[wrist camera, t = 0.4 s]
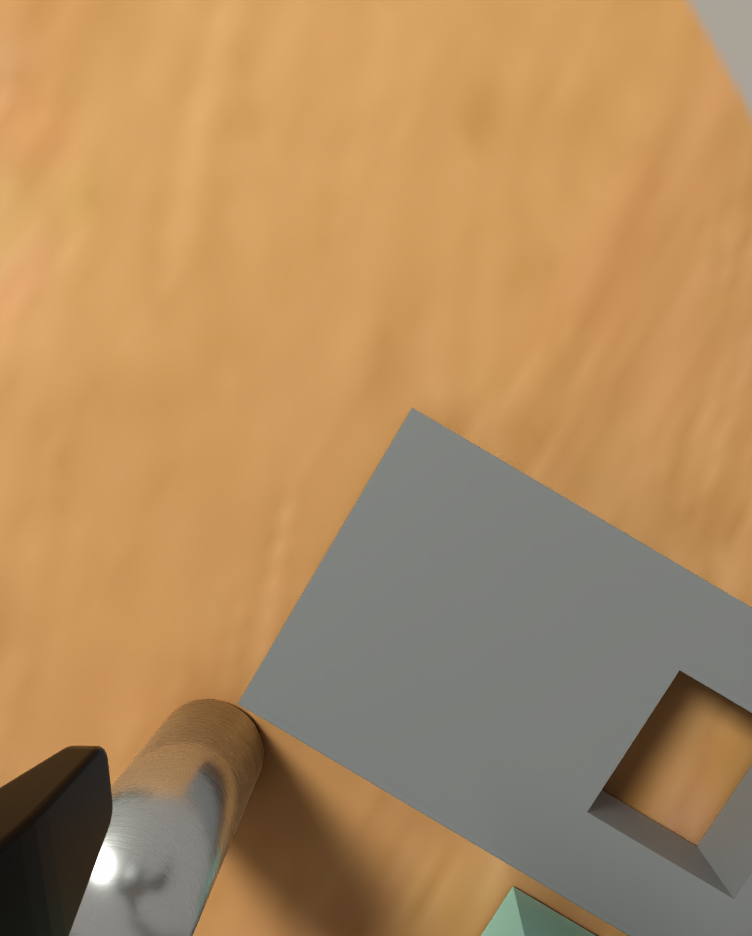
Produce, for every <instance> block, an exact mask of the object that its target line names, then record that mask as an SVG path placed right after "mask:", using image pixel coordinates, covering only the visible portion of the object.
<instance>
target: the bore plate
mask: <svg viewBox="0 0 752 936" xmlns="http://www.w3.org/2000/svg"><path fill="white" fill-rule="evenodd" d="M679 670H680V671H682V672H683V673H685V674H687V675H688V676H690V677H692V678H694V679H695V680H697V681H699V682H700V683H702V684H704V685H705V686H707V687H709V688H710V689H712V690H714V691H716V692H717V693H719V694H721V695H722V696H724V697H726V698H727V699H729V700H731V701H733V702H734V703H736V704H738V705H739V706H741V707H743V708H744V709H746V710H748V711H749V712H751V713H752V607H750V606H748V605H746V604H745V603H743V602H741V601H740V600H738V599H736V598H735V597H733V596H731V595H729V594H728V593H726V592H724V591H723V590H721V589H719V588H718V587H716V586H714V585H712V584H711V583H709V582H707V581H706V580H704V579H702V578H701V577H699V576H697V575H695V574H694V573H692V572H690V571H689V570H687V569H685V568H684V567H682V566H680V565H679V564H677V563H675V562H673V561H672V560H670V559H668V558H667V557H665V556H663V555H662V554H660V553H658V552H656V551H655V550H653V549H651V548H650V547H648V546H646V545H645V544H643V543H641V542H639V541H638V540H636V539H634V538H633V537H631V536H629V535H628V534H626V533H624V532H622V531H621V530H619V529H617V528H616V527H614V526H612V525H611V524H609V523H607V522H605V521H604V520H602V519H600V518H599V517H597V516H595V515H594V514H592V513H590V512H588V511H587V510H585V509H583V508H582V507H580V506H578V505H577V504H575V503H573V502H571V501H570V500H568V499H566V498H565V497H563V496H561V495H560V494H558V493H556V492H554V491H553V490H551V489H549V488H548V487H546V486H544V485H543V484H541V483H539V482H537V481H536V480H534V479H532V478H531V477H529V476H527V475H526V474H524V473H522V472H521V471H519V470H517V469H515V468H514V467H512V466H510V465H509V464H507V463H505V462H504V461H502V460H500V459H498V458H497V457H495V456H493V455H492V454H490V453H488V452H487V451H485V450H483V449H481V448H480V447H478V446H476V445H475V444H473V443H471V442H470V441H468V440H466V439H464V438H463V437H461V436H459V435H458V434H456V433H454V432H453V431H451V430H449V429H447V428H446V427H444V426H442V425H441V424H439V423H437V422H436V421H434V420H432V419H430V418H429V417H427V416H425V415H424V414H422V413H420V412H419V411H417V410H415V409H413V408H412V409H411V411H410V412H409V414H408V416H407V417H406V419H405V421H404V423H403V424H402V426H401V428H400V429H399V431H398V433H397V434H396V436H395V438H394V440H393V441H392V443H391V445H390V446H389V448H388V450H387V451H386V453H385V455H384V456H383V458H382V460H381V462H380V463H379V465H378V467H377V468H376V470H375V472H374V473H373V475H372V477H371V479H370V480H369V482H368V484H367V485H366V487H365V489H364V490H363V492H362V494H361V496H360V497H359V499H358V501H357V502H356V504H355V506H354V507H353V509H352V511H351V513H350V514H349V516H348V518H347V519H346V521H345V523H344V524H343V526H342V528H341V529H340V531H339V533H338V535H337V536H336V538H335V540H334V541H333V543H332V545H331V546H330V548H329V550H328V552H327V553H326V555H325V557H324V558H323V560H322V562H321V563H320V565H319V567H318V569H317V570H316V572H315V574H314V575H313V577H312V579H311V580H310V582H309V584H308V586H307V587H306V589H305V591H304V592H303V594H302V596H301V597H300V599H299V601H298V602H297V604H296V606H295V608H294V609H293V611H292V613H291V614H290V616H289V618H288V619H287V621H286V623H285V625H284V626H283V628H282V630H281V631H280V633H279V635H278V636H277V638H276V640H275V642H274V643H273V645H272V647H271V648H270V650H269V652H268V653H267V655H266V657H265V659H264V660H263V662H262V664H261V665H260V667H259V669H258V670H257V672H256V674H255V676H254V677H253V679H252V681H251V682H250V684H249V686H248V687H247V689H246V691H245V692H244V694H243V696H242V698H241V699H240V701H239V703H238V704H239V705H241V706H243V707H244V708H246V709H248V710H249V711H251V712H253V713H254V714H256V715H258V716H259V717H261V718H263V719H264V720H266V721H268V722H270V723H271V724H273V725H275V726H276V727H278V728H280V729H281V730H283V731H285V732H286V733H288V734H290V735H291V736H293V737H295V738H297V739H298V740H300V741H302V742H303V743H305V744H307V745H308V746H310V747H312V748H313V749H315V750H317V751H318V752H320V753H322V754H323V755H325V756H327V757H329V758H330V759H332V760H334V761H335V762H337V763H339V764H340V765H342V766H344V767H345V768H347V769H349V770H350V771H352V772H354V773H356V774H357V775H359V776H361V777H362V778H364V779H366V780H367V781H369V782H371V783H372V784H374V785H376V786H377V787H379V788H381V789H382V790H384V791H386V792H388V793H389V794H391V795H393V796H394V797H396V798H398V799H399V800H401V801H403V802H404V803H406V804H408V805H409V806H411V807H413V808H415V809H416V810H418V811H420V812H421V813H423V814H425V815H426V816H428V817H430V818H431V819H433V820H435V821H436V822H438V823H440V824H441V825H443V826H445V827H447V828H448V829H450V830H452V831H453V832H455V833H457V834H458V835H460V836H462V837H463V838H465V839H467V840H468V841H470V842H472V843H474V844H475V845H477V846H479V847H480V848H482V849H484V850H485V851H487V852H489V853H490V854H492V855H494V856H495V857H497V858H499V859H501V860H502V861H504V862H506V863H507V864H509V865H511V866H512V867H514V868H516V869H517V870H519V871H521V872H522V873H524V874H526V875H527V876H529V877H531V878H533V879H534V880H536V881H538V882H539V883H541V884H543V885H544V886H546V887H548V888H549V889H551V890H553V891H554V892H556V893H558V894H560V895H561V896H563V897H565V898H566V899H568V900H570V901H571V902H573V903H575V904H576V905H578V906H580V907H581V908H583V909H585V910H586V911H588V912H590V913H592V914H593V915H595V916H597V917H598V918H600V919H602V920H603V921H605V922H607V923H608V924H610V925H612V926H613V927H615V928H617V929H619V930H620V931H622V932H624V933H625V934H627V935H629V936H752V765H751V767H750V768H749V770H748V771H747V773H746V774H745V776H744V777H743V779H742V780H741V782H740V783H739V785H738V786H737V788H736V789H735V790H734V792H733V793H732V795H731V796H730V798H729V799H728V801H727V802H726V804H725V805H724V807H723V808H722V810H721V811H720V813H719V814H718V816H717V817H716V819H715V820H714V822H713V823H712V825H711V826H710V828H709V829H708V831H707V832H706V834H705V835H704V837H703V838H702V840H701V841H700V843H699V844H698V846H696V845H694V844H692V843H691V842H689V841H687V840H686V839H684V838H682V837H681V836H679V835H677V834H675V833H674V832H672V831H670V830H669V829H667V828H665V827H664V826H662V825H660V824H659V823H657V822H655V821H653V820H652V819H650V818H648V817H647V816H645V815H643V814H642V813H640V812H638V811H637V810H635V809H633V808H632V807H630V806H628V805H626V804H625V803H623V802H621V801H620V800H618V799H616V798H615V797H613V796H611V795H610V794H608V793H606V792H604V791H603V790H602V788H603V787H604V785H605V784H606V782H607V781H608V779H609V778H610V776H611V775H612V773H613V772H614V770H615V769H616V767H617V765H618V764H619V762H620V761H621V759H622V758H623V756H624V755H625V753H626V752H627V750H628V749H629V747H630V746H631V744H632V742H633V741H634V739H635V738H636V736H637V735H638V733H639V732H640V730H641V729H642V727H643V726H644V724H645V723H646V721H647V719H648V718H649V716H650V715H651V713H652V712H653V710H654V709H655V707H656V706H657V704H658V703H659V701H660V700H661V698H662V696H663V695H664V693H665V692H666V690H667V689H668V687H669V686H670V684H671V683H672V681H673V680H674V678H675V677H676V675H677V673H678V672H679Z"/></svg>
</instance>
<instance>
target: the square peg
mask: <svg viewBox="0 0 752 936" xmlns="http://www.w3.org/2000/svg"><path fill="white" fill-rule="evenodd" d="M481 936H596V935H594V934H592V933H591V932H589V931H587V930H585V929H584V928H582V927H580V926H579V925H577V924H575V923H574V922H572V921H570V920H569V919H567V918H565V917H564V916H562V915H560V914H559V913H557V912H555V911H554V910H552V909H550V908H549V907H547V906H545V905H543V904H542V903H540V902H538V901H537V900H535V899H533V898H532V897H530V896H528V895H527V894H525V893H523V892H522V891H520V890H518V889H517V888H515V887H512V889H511V890H510V892H509V893H508V895H507V896H506V898H505V899H504V901H503V902H502V904H501V906H500V907H499V909H498V910H497V912H496V913H495V915H494V916H493V918H492V919H491V921H490V923H489V924H488V926H487V927H486V929H485V930H484V932H483V933H482V935H481Z"/></svg>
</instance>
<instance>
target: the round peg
mask: <svg viewBox="0 0 752 936" xmlns="http://www.w3.org/2000/svg"><path fill="white" fill-rule="evenodd" d="M263 756H264V752H263V744H262V740H261V737H260V734H259V732H258V730H257V728H256V726H255V725H254V723H253V722H252V720H251V719H250V718H249V717H248V716H247V715H246V714H245V713H244V712H242V711H241V710H240V709H238V708H237V707H235V706H233V705H231V704H229V703H226V702H223V701H219V700H211V699H204V700H197V701H193V702H189V703H187V704H185V705H183V706H181V707H179V708H178V709H176V710H175V711H174V712H173V713H172V714H171V715H170V716H169V717H168V718H167V719H166V720H165V722H164V723H163V724H162V725H161V726H160V728H159V729H158V730H157V731H156V733H155V734H154V735H153V736H152V737H151V739H150V740H149V741H148V742H147V744H146V745H145V746H144V747H143V748H142V750H141V751H140V752H139V753H138V755H137V756H136V757H135V758H134V760H133V761H132V762H131V763H130V764H129V766H128V767H127V768H126V769H125V771H124V772H123V773H122V774H121V775H120V777H119V778H118V779H117V780H116V782H115V783H114V784H113V785H112V787H111V792H112V802H113V810H112V818H111V822H110V825H109V828H108V831H107V834H106V837H105V839H104V842H103V845H102V847H101V850H100V853H99V856H98V858H97V861H96V864H95V866H94V869H93V872H92V875H91V877H90V880H89V883H88V885H87V888H86V891H85V894H84V896H83V899H82V902H81V904H80V907H79V910H78V913H77V915H76V918H75V921H74V923H73V926H72V929H71V932H70V934H69V936H192V935H193V933H194V931H195V928H196V926H197V923H198V921H199V919H200V916H201V914H202V911H203V909H204V907H205V904H206V902H207V899H208V897H209V895H210V892H211V890H212V887H213V885H214V882H215V880H216V878H217V875H218V873H219V870H220V868H221V866H222V863H223V861H224V858H225V856H226V854H227V851H228V849H229V846H230V844H231V842H232V839H233V837H234V834H235V832H236V830H237V827H238V825H239V822H240V820H241V818H242V815H243V813H244V810H245V808H246V806H247V803H248V801H249V798H250V796H251V794H252V791H253V789H254V786H255V784H256V782H257V779H258V777H259V774H260V772H261V769H262V764H263Z"/></svg>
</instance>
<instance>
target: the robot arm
mask: <svg viewBox="0 0 752 936" xmlns="http://www.w3.org/2000/svg"><path fill="white" fill-rule="evenodd" d="M112 810H113V802H112V792H111V784H110V775H109V766H108V758H107V754H106V752H105V750H104V749H103V748H101V747H100V746H69V747H66V748H65V749H63V750H61V751H59V752H58V753H56V754H55V755H53V756H51V757H50V758H48V759H46V760H45V761H43V762H41V763H40V764H38V765H37V766H35V767H33V768H32V769H30V770H28V771H27V772H25V773H24V774H22V775H20V776H19V777H17V778H15V779H14V780H12V781H10V782H9V783H7V784H6V785H4V786H2V787H1V788H0V936H69V934H70V932H71V929H72V926H73V923H74V921H75V918H76V915H77V913H78V910H79V907H80V904H81V902H82V899H83V896H84V894H85V891H86V888H87V885H88V883H89V880H90V877H91V875H92V872H93V869H94V866H95V864H96V861H97V858H98V856H99V853H100V850H101V847H102V845H103V842H104V839H105V837H106V834H107V831H108V828H109V825H110V822H111V818H112Z"/></svg>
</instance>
